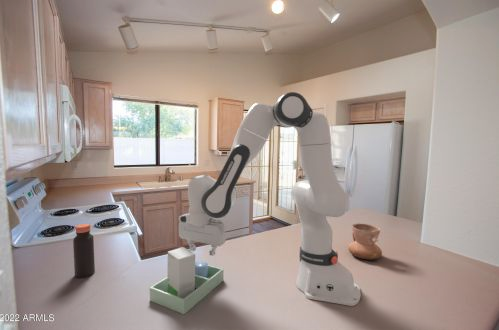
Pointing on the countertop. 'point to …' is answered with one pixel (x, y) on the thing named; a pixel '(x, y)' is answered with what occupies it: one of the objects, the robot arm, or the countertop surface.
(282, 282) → the countertop surface
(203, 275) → the light blue rounded cone
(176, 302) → the green divided tray
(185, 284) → the skincare box
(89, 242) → the vinegar
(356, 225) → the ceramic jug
